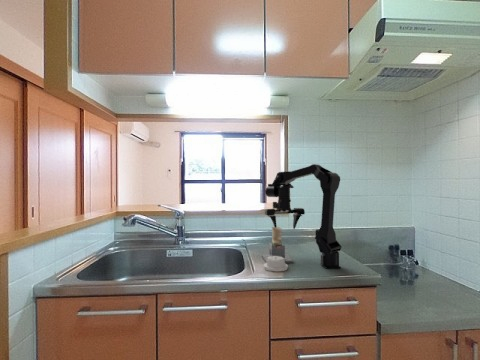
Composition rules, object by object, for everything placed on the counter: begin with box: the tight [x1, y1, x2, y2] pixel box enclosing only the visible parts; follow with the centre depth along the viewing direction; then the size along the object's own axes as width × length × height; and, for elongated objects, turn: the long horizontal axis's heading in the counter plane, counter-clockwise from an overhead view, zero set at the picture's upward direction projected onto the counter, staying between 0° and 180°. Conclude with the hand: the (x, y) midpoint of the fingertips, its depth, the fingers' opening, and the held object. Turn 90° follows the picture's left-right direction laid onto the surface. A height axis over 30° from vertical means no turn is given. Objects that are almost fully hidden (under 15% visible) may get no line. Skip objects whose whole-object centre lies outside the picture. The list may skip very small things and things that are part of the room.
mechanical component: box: [263, 256, 289, 272], centre depth 114 cm, size 10×4×10 cm
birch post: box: [271, 226, 283, 246], centre depth 127 cm, size 4×4×10 cm
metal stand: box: [261, 242, 294, 264], centre depth 126 cm, size 12×12×7 cm
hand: (284, 229), depth 134 cm, fingers open, 9 cm apart
